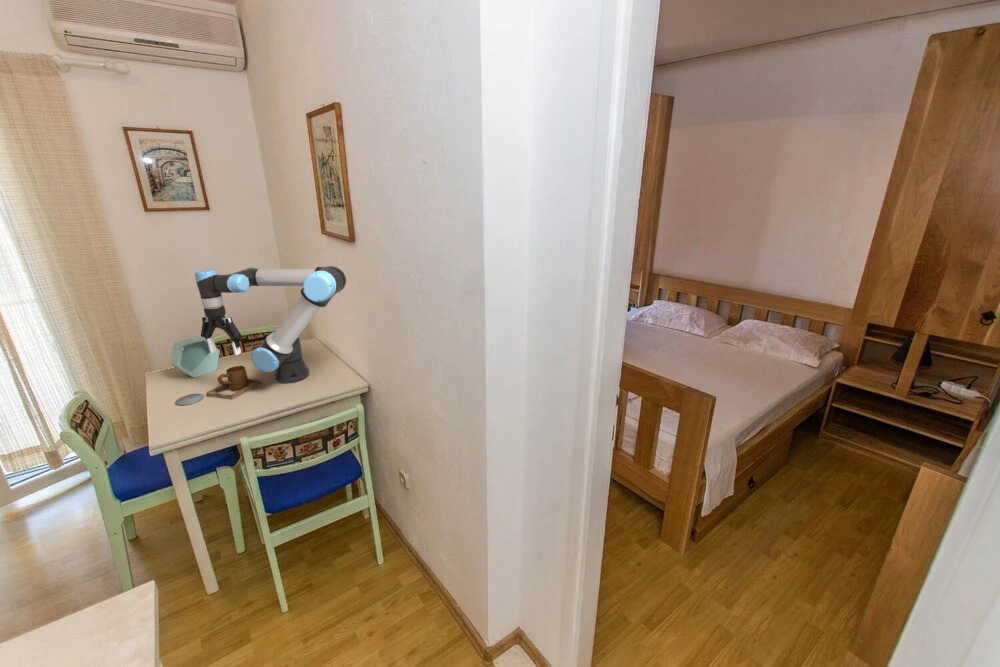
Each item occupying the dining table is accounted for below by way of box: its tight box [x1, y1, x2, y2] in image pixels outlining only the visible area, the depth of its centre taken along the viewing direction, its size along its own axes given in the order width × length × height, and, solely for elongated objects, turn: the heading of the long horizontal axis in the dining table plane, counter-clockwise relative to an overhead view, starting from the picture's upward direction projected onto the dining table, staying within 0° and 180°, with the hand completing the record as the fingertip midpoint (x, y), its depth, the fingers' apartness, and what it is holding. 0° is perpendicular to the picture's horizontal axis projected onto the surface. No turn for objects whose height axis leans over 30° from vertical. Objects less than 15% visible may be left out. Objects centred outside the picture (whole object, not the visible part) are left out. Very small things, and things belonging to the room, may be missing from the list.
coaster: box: [175, 393, 204, 407], centre depth 188 cm, size 10×10×1 cm
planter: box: [169, 335, 221, 378], centre depth 213 cm, size 17×8×21 cm
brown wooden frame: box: [205, 377, 262, 400], centre depth 197 cm, size 14×17×2 cm
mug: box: [217, 365, 250, 392], centre depth 195 cm, size 12×8×9 cm, turn 151°
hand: (225, 353), depth 191 cm, fingers open, 13 cm apart
